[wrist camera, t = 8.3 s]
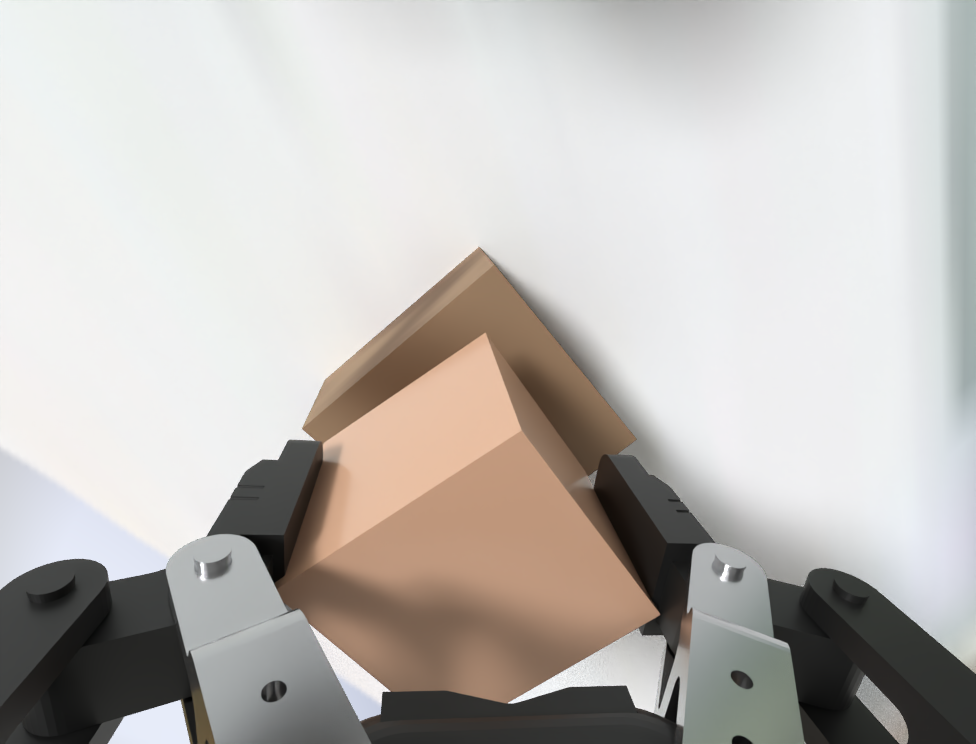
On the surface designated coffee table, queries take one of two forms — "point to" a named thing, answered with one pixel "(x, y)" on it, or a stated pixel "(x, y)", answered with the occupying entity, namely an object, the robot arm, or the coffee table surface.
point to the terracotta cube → (461, 540)
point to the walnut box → (450, 327)
